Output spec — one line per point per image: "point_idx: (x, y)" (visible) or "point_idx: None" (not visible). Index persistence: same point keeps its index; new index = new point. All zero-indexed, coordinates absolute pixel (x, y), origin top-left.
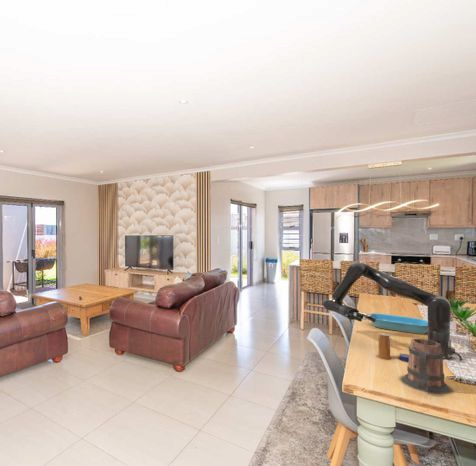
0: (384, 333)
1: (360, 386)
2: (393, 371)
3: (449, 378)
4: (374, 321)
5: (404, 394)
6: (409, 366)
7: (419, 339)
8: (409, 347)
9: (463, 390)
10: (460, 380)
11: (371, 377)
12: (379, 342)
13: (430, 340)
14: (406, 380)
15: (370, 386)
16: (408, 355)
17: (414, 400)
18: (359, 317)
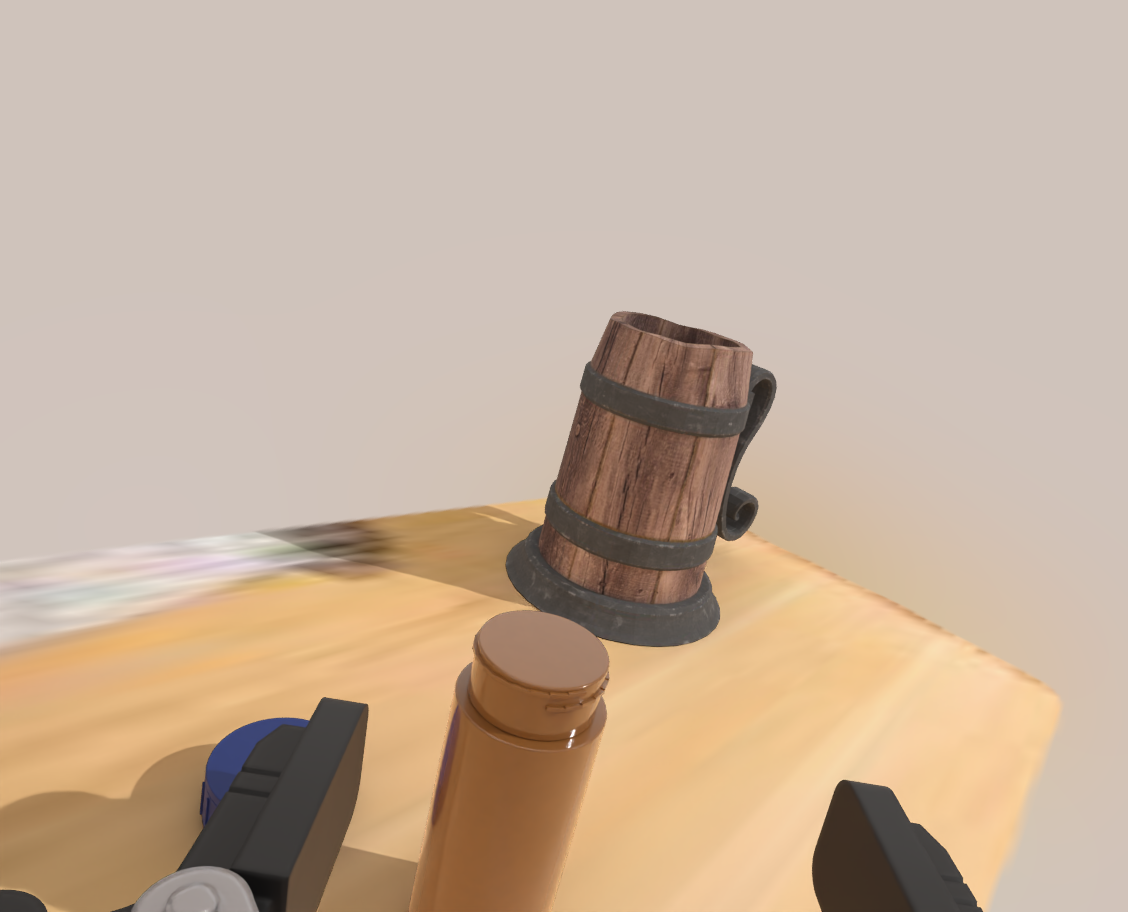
0: (499, 665)
1: (994, 663)
2: (671, 703)
3: (379, 566)
4: (354, 783)
5: (801, 579)
6: (715, 520)
7: (673, 342)
8: (739, 409)
9: (477, 518)
10: (345, 543)
11: (890, 698)
12: (589, 778)
13: (622, 322)
14: (712, 601)
15: (938, 649)
16: (242, 763)
17: (788, 555)
18: (900, 828)
